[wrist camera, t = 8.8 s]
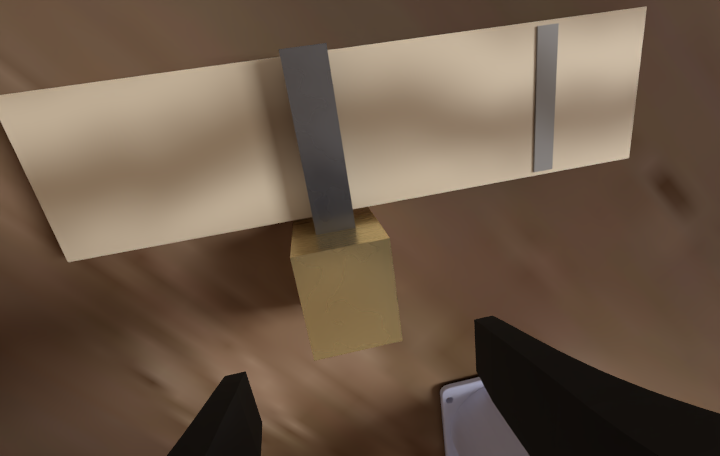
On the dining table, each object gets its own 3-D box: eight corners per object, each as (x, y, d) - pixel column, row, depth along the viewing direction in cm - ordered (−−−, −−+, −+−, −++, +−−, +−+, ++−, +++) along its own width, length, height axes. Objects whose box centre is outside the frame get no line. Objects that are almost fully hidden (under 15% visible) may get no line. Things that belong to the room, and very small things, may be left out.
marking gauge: (379, 287, 20) (402, 340, 15) (311, 302, 20) (314, 360, 15) (345, 52, 16) (363, 26, 11) (258, 64, 15) (239, 42, 11)
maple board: (605, 154, 20) (630, 158, 18) (87, 249, 17) (66, 263, 15) (618, 15, 17) (648, 6, 16) (19, 98, 14) (-14, 96, 13)
